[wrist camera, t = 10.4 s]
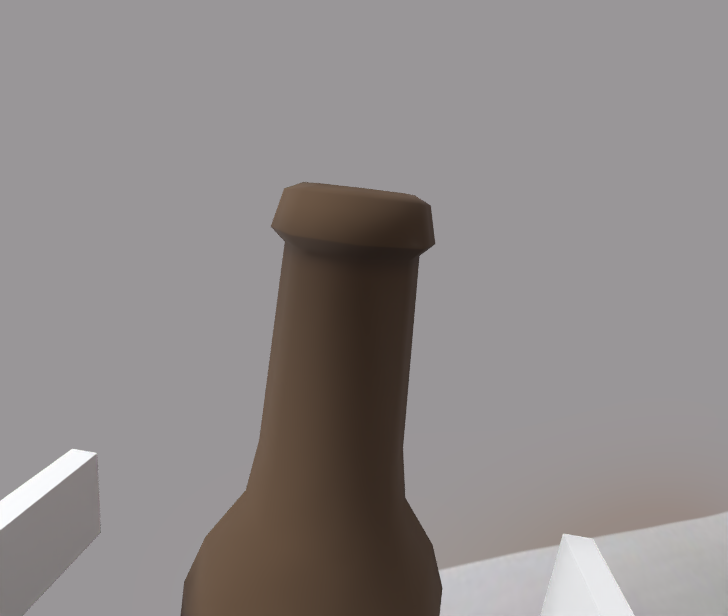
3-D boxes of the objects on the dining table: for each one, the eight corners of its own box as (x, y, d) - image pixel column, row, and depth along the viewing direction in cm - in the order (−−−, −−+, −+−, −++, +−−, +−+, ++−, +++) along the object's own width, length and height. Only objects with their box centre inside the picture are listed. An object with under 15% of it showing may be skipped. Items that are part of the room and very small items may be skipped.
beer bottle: (130, 869, 15) (102, 158, 9) (298, 693, 21) (349, 190, 15) (265, 1207, 10) (394, 184, 4) (433, 856, 16) (588, 216, 10)
